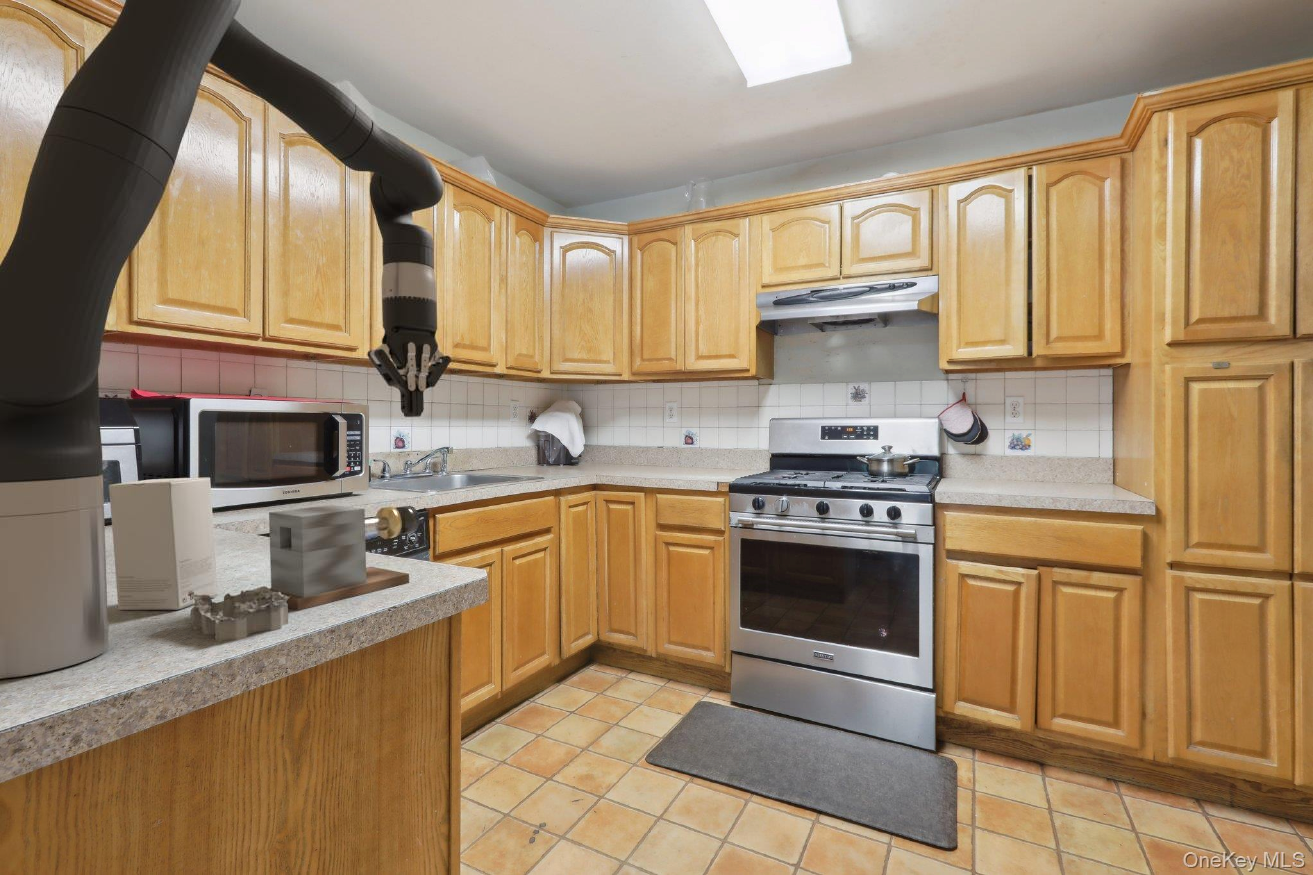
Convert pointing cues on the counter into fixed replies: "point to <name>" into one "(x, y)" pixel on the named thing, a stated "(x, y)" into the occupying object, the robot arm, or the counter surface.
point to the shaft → (393, 521)
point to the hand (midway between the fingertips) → (412, 416)
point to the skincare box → (163, 542)
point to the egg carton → (240, 613)
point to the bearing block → (323, 556)
